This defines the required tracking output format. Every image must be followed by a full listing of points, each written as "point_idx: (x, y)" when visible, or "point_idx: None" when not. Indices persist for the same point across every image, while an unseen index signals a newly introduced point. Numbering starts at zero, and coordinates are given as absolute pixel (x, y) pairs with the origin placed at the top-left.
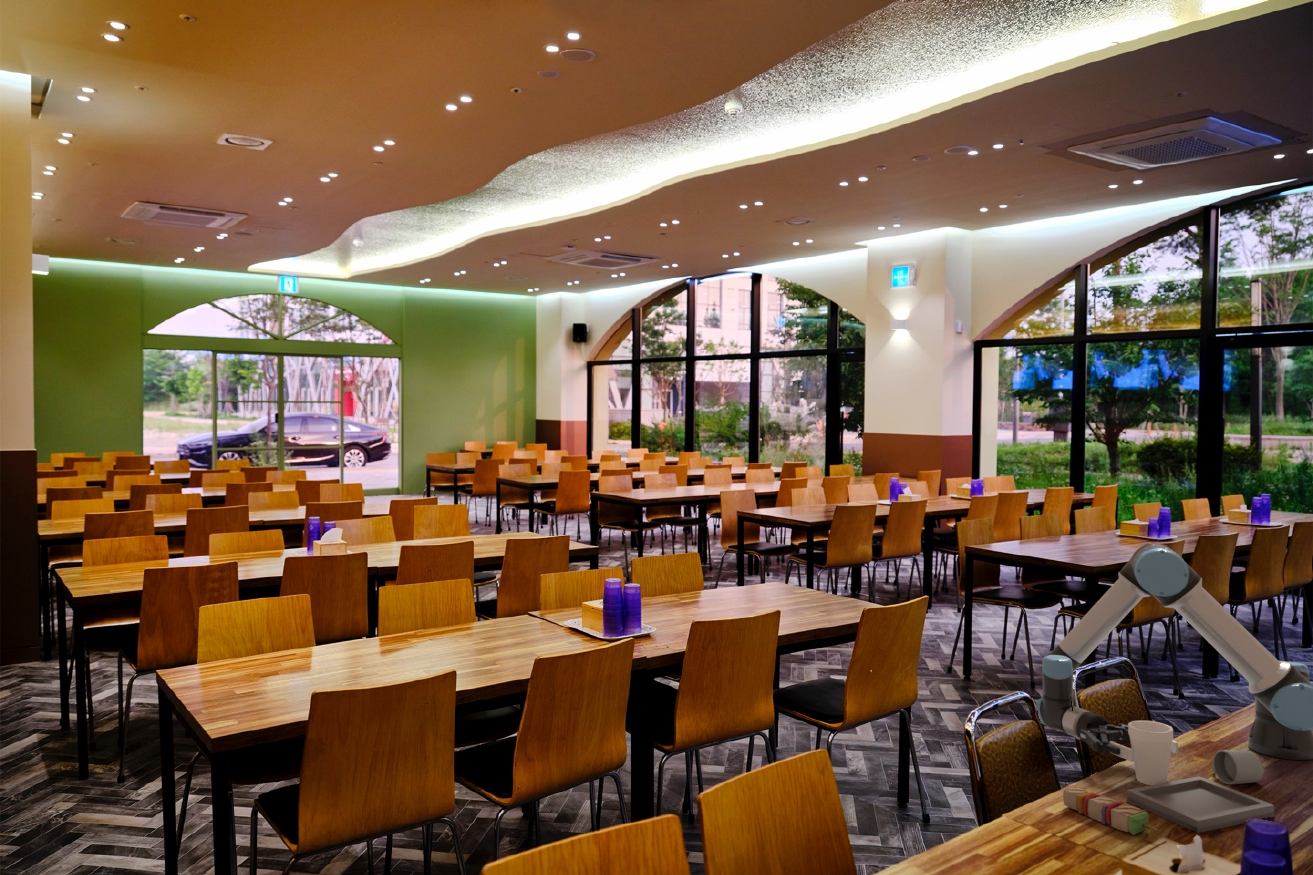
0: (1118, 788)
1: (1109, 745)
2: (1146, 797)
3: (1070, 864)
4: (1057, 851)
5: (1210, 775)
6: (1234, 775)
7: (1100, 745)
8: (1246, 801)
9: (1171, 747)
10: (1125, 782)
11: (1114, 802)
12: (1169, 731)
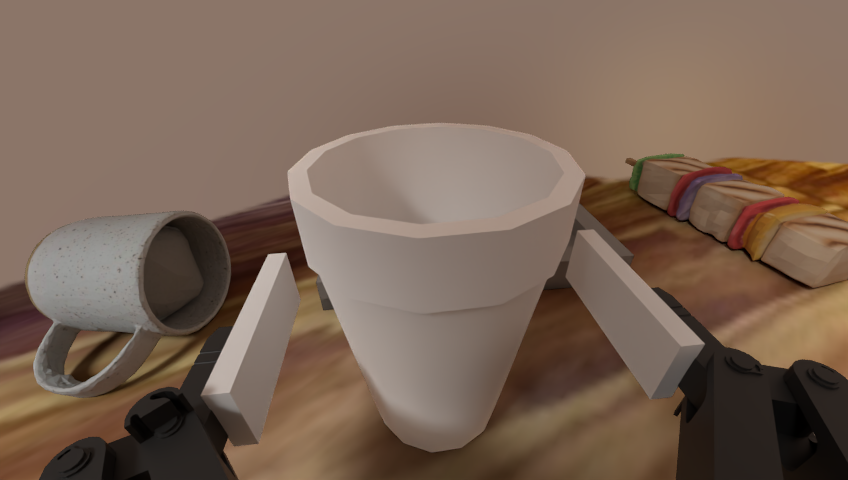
0: (619, 359)
1: (701, 338)
2: (591, 221)
3: (792, 161)
4: (823, 178)
5: (158, 378)
6: (196, 277)
7: (777, 374)
8: None
9: (289, 297)
10: (562, 403)
11: (714, 167)
12: (397, 127)
